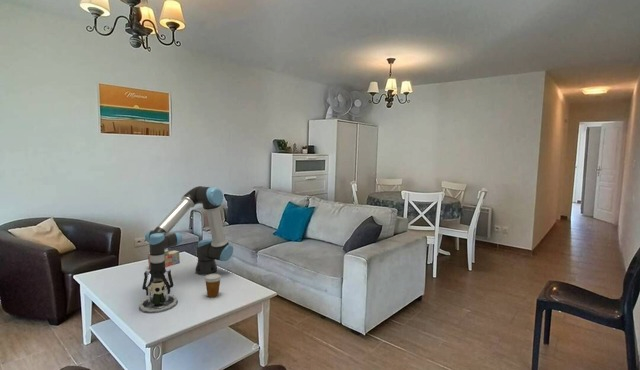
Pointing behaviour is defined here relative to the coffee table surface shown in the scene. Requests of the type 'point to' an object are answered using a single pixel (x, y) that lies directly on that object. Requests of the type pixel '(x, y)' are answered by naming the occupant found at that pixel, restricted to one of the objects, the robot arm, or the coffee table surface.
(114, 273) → the coffee table surface
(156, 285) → the character mug
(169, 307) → the silver metal tray
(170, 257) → the stack of blocks
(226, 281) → the coffee table surface
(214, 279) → the disposable coffee cup
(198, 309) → the coffee table surface
